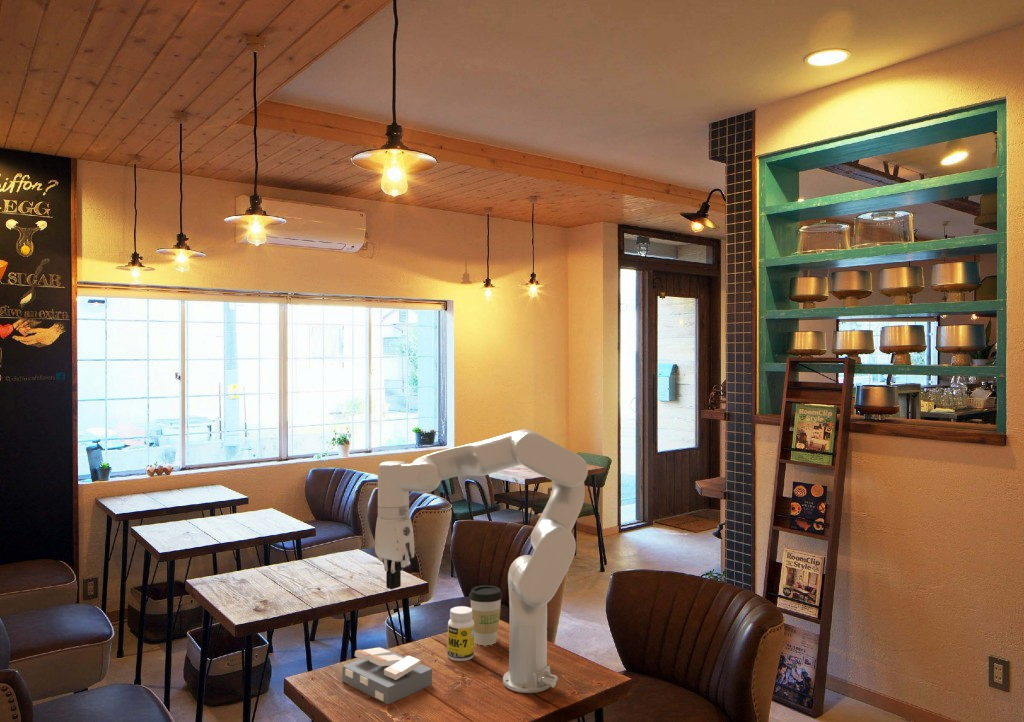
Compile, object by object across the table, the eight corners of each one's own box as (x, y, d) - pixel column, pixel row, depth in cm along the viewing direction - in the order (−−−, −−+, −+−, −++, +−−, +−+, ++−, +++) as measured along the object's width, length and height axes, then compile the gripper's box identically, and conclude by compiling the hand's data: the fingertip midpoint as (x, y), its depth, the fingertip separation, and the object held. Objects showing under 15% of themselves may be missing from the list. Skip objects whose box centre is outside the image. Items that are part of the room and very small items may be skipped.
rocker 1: (389, 656, 184) (390, 651, 184) (365, 660, 178) (365, 655, 178) (379, 651, 187) (379, 646, 187) (354, 655, 181) (355, 650, 181)
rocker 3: (420, 664, 176) (420, 659, 176) (395, 680, 170) (395, 674, 170) (409, 659, 179) (408, 654, 179) (384, 674, 173) (383, 669, 173)
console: (432, 684, 178) (432, 664, 178) (387, 704, 167) (387, 683, 167) (386, 664, 190) (386, 645, 190) (341, 682, 179) (341, 662, 179)
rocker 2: (404, 664, 180) (405, 658, 180) (380, 666, 174) (381, 660, 174) (393, 659, 183) (394, 654, 183) (369, 661, 177) (370, 655, 177)
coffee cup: (498, 650, 200) (498, 596, 200) (464, 647, 202) (464, 594, 202) (505, 636, 210) (505, 585, 210) (473, 634, 211) (473, 583, 212)
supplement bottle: (443, 660, 193) (444, 613, 193) (451, 650, 200) (452, 604, 200) (469, 663, 191) (470, 615, 191) (477, 652, 198) (477, 606, 198)
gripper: (425, 513, 172) (425, 590, 172) (385, 506, 181) (385, 578, 181) (402, 519, 166) (402, 597, 166) (361, 510, 176) (361, 585, 175)
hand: (393, 587), depth 173 cm, fingers closed
